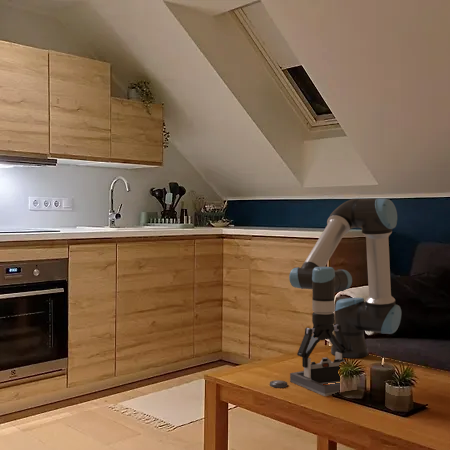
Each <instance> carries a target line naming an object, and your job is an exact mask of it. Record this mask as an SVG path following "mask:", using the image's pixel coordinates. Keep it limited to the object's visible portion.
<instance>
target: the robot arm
mask: <svg viewBox="0 0 450 450" xmlns="http://www.w3.org/2000/svg"><path fill="white" fill-rule="evenodd" d="M397 223H398V212H397V207H396V206H395V204H394V202H393V201H392V200H390V199H389V198H380V197H379V198H378V197H377V198H351V199H348V200H347V201H344V202H343V203H342V204H340V205H339V206H338V207H336V208H335V209H334V210H333V211H332V212H331V213H330V215H329V217H328V218H327V221H326V224H327V225H326V226H325V228H324V230H323V232H321V235H320V236H319V238H318V239H317V241H316V243H315V244H314V245H313V247H312V249H311V251H310V252H309V253H308V256H307V257H306V259H305V261H304V262H303V263H302V265H301V267H299V266H298V267H294V268H292V269H291V270H290V272H289V278H288V281H289V284H290V285H291V286H292V288H295V289H296V288H297V289H301V290H312V291H311V292H312V294H311V295H312V301H311V303H312V305H311V307H312V309H311V310H312V314H311V323H312V325H313V326H312V327H311V328H309V327H305V328H304V335H303V338H302V340H301V343H300V345H299V349H298V351H297V357H301V358H302V359H301V360H302V362H301V363H302V367H303V371H304V376H305V377H308V378H311V362H312V358H311V357H310V356H311V354H312V352H313V351H314V349H315V348H316V346H317V344H318V343H319V342H320V341H324V340H329V341H330V343H331V344H332V345H331V349H330V353H331V354H332V355H333V356H334V360H336V359H340V360H341V359H344V358H350V359H351V358H352V359H359V358H364V357H367V356H369V347H368V345H367V342H366V338H365V332H371V333H379V334H382V335H384V334H386V335H387V334H389V335H393V334H394V333H396V332H397V330H398V328H399V326H400V325H401V320H402V309H401V306H400V305H398V304H396V299H395V298H394V296H392V290H391V289H392V287H391V269H390V267H391V266H390V265H391V264H390V246H389V244H390V243H389V242H390V241H389V237H390V236H391V234H392V233H393V229H395V228H396V227H397ZM356 228H357V229H361V234H362V235H363V236H364V237H365V240H366V241H365V242H366V243H365V244H366V245H365V246H366V262H367V283H368V296H366V298H364V297H345V298H340V299H339V300H337V301H336V303H335V293H339V292H341V293H342V292H344V291H346V290H348V289H350V288H351V286H352V283H353V277H352V275H351V273H350V272H349V271H348V270H346V269H336V270H335V268H334V267H332V266H327V264H328V262H329V261H330V259H331V257H332V256H333V255H334V252H335V251H336V249H337V247H338V246H339V244H340V242H341V241H342V239H343V237H344V235H347V234H348V233H349V232H350V231H351V229H356Z"/></svg>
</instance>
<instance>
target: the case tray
mask: <svg viewBox="0 0 450 450" xmlns="http://www.w3.org/2000/svg"><path fill="white" fill-rule="evenodd" d="M289 375H290V376H289V382H290V383H292V384H295V385H297V386H300V387H301V388H304V389H306V390H308V391H312V392H314V393H316V394H319V395H321V396H322V397H328V396H333V395H332V394H334V395H336V394H335V393H337V392H339V390H340V383H335V384H330V385H323V384H321V383H318V382H316V381H313V380H311V378H308V377H305V376H304V370H301V371H300V370H299V371H295V372H290V373H289Z"/></svg>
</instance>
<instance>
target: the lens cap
mask: <svg viewBox="0 0 450 450" xmlns="http://www.w3.org/2000/svg"><path fill="white" fill-rule="evenodd" d="M269 387H271V388H275V389H284V388H287V387H288V382H287V381H285V380H279V379H278V380H272V381H270V382H269Z"/></svg>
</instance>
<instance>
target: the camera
mask: <svg viewBox="0 0 450 450" xmlns="http://www.w3.org/2000/svg"><path fill="white" fill-rule="evenodd" d="M345 360H346V359H345V358H343V359H341V360H340V359H336V360H335V359H333V361H332V360H331V359H330V358H328V357H322V358H321V360H320V362H318V363H316V361H311V380H313V381H316V382H318V383H321V384H328V383H336V382H340V376H339V374H338V370H339V369H340V367H339V365H340V363H341V362H345Z"/></svg>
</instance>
